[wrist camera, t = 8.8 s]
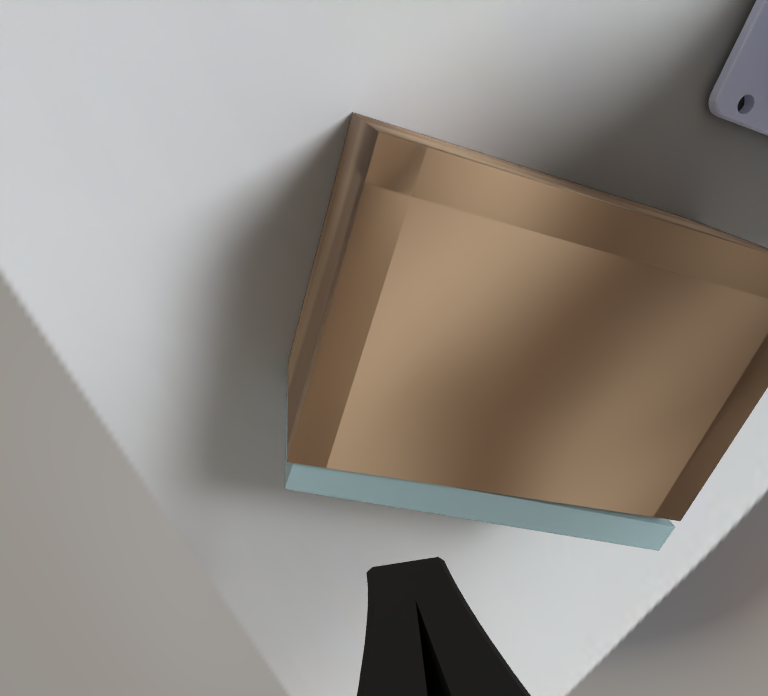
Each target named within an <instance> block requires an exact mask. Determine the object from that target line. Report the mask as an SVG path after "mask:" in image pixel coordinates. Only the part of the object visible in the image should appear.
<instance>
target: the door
mask: <svg viewBox="0 0 768 696" xmlns="http://www.w3.org/2000/svg"><path fill="white" fill-rule="evenodd" d="M287 419H288V391H287V394H286V447H285V489H287V490H293V491H299V492H305V493H311V494H317V495H323V496H330V497H336V498H342V499H348V500H354V501H360V502H366V503H372V504H378V505H384V506H390V507H396V508H402V509H408V510H415V511H421V512H427V513H433V514H439V515H445V516H451V517H457V518H463V519H469V520H475V521H481V522H487V523H493V524H500V525H506V526H512V527H518V528H524V529H530V530H536V531H542V532H548V533H554V534H560V535H566V536H572V537H578V538H585V539H591V540H597V541H603V542H609V543H615V544H621V545H627V546H633V547H639V548H645V549H651V550H657V551H659V550H660V548H661V547H662V545H663V544H664V543H665V541H666V540H667V538H668V537H669V535H670V534H671V532H672V531H673V530H674V528H675V526H674V525H673V524H672V523H671V521H670V520H669V519H663V518H656V517H650V516H643V515H636V514H630V513H623V512H617V511H610V510H603V509H597V508H590V507H583V506H577V505H570V504H563V503H557V502H550V501H543V500H537V499H530V498H523V497H517V496H510V495H503V494H497V493H490V492H483V491H477V490H470V489H463V488H457V487H450V486H443V485H437V484H430V483H423V482H417V481H410V480H403V479H397V478H390V477H383V476H377V475H370V474H363V473H357V472H350V471H343V470H337V469H330V468H323V467H317V466H310V465H304V464H297V463H290V462H287Z"/></svg>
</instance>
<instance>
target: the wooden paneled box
mask: <svg viewBox="0 0 768 696" xmlns="http://www.w3.org/2000/svg"><path fill="white" fill-rule="evenodd" d="M767 387H768V248H765V247H762V246H760V245H757V244H754V243H752V242H749V241H747V240H744V239H741V238H739V237H736V236H733V235H731V234H728V233H726V232H723V231H720V230H718V229H715V228H712V227H710V226H707V225H705V224H702V223H699V222H696V221H693V220H690V219H687V218H684V217H680V216H677V215H674V214H671V213H668V212H665V211H661V210H658V209H655V208H652V207H649V206H646V205H643V204H639V203H636V202H633V201H630V200H627V199H624V198H621V197H617V196H614V195H611V194H608V193H605V192H602V191H599V190H595V189H592V188H589V187H586V186H583V185H580V184H577V183H573V182H570V181H567V180H564V179H561V178H558V177H555V176H551V175H548V174H545V173H542V172H539V171H536V170H533V169H529V168H526V167H523V166H520V165H517V164H514V163H511V162H507V161H504V160H501V159H498V158H495V157H492V156H489V155H485V154H482V153H479V152H476V151H473V150H470V149H467V148H463V147H460V146H457V145H454V144H451V143H448V142H445V141H441V140H438V139H435V138H432V137H429V136H426V135H423V134H419V133H416V132H413V131H410V130H407V129H404V128H401V127H397V126H394V125H391V124H388V123H385V122H382V121H379V120H375V119H372V118H369V117H366V116H363V115H360V114H357V113H353V112H352V116H351V120H350V124H349V127H348V131H347V135H346V139H345V143H344V147H343V151H342V155H341V159H340V162H339V166H338V170H337V174H336V178H335V182H334V186H333V190H332V194H331V197H330V201H329V205H328V209H327V213H326V217H325V221H324V225H323V228H322V232H321V236H320V240H319V244H318V248H317V252H316V256H315V260H314V263H313V267H312V271H311V275H310V279H309V283H308V287H307V291H306V295H305V298H304V302H303V306H302V310H301V314H300V318H299V322H298V326H297V330H296V333H295V337H294V341H293V345H292V349H291V353H290V357H289V361H288V419H287V462H290V463H297V464H304V465H310V466H317V467H323V468H330V469H337V470H343V471H350V472H357V473H363V474H370V475H377V476H383V477H390V478H397V479H403V480H410V481H417V482H423V483H430V484H437V485H443V486H450V487H457V488H463V489H470V490H477V491H483V492H490V493H497V494H503V495H510V496H517V497H523V498H530V499H537V500H543V501H550V502H557V503H563V504H570V505H577V506H583V507H590V508H597V509H603V510H610V511H617V512H623V513H630V514H636V515H643V516H650V517H656V518H663V519H670V520H676V521H681V519H682V518H683V516H684V515H685V513H686V512H687V510H688V509H689V507H690V506H691V504H692V503H693V501H694V500H695V498H696V496H697V495H698V493H699V492H700V490H701V489H702V487H703V486H704V484H705V483H706V481H707V480H708V478H709V476H710V475H711V473H712V472H713V470H714V469H715V467H716V466H717V464H718V463H719V461H720V460H721V458H722V457H723V455H724V453H725V452H726V450H727V449H728V447H729V446H730V444H731V443H732V441H733V440H734V438H735V437H736V435H737V434H738V432H739V430H740V429H741V427H742V426H743V424H744V423H745V421H746V420H747V418H748V417H749V415H750V414H751V412H752V410H753V409H754V407H755V406H756V404H757V403H758V401H759V400H760V398H761V397H762V395H763V394H764V392H765V391H766V389H767Z"/></svg>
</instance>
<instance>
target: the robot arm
mask: <svg viewBox="0 0 768 696" xmlns="http://www.w3.org/2000/svg"><path fill="white" fill-rule="evenodd" d="M743 96H744V99H745V103H744V107H743V108H742V109H741V110H740V111H739V112H738V108H737V106H738V102H739V101H740V99H741V98H742V97H743ZM709 109H710V111H711V113H712V114H714V115H715V116H717V117H720V118H722V119H725V120H728V121H730V122H733V123H735V124H738V125H741V126H743V127H746V128H749V129H751V130H754V131H756V132H759V133H762V134H764V135H767V136H768V0H756V2H755V4H754V6H753V8H752V10H751V12H750V14H749V16H748V18H747V20H746V23H745V25H744V27H743V29H742V31H741V33H740V35H739V37H738V39H737V41H736V43H735V45H734V47H733V49H732V51H731V53H730V55H729V57H728V59H727V61H726V63H725V65H724V68H723V70H722V72H721V74H720V76H719V78H718V80H717V82H716V84H715V86H714V88H713V90H712V92H711V95H710V98H709ZM367 582H368V613H367V626H366V637H365V646H364V653H363V660H362V666H361V673H360V680H359V687H358V693H357V696H531V695H530V694H529V693H528V691H527V690H526V689H525V687H524V686H523V685H522V683H521V682H520V681H519V679H518V678H517V677H516V675H515V674H514V673H513V671H512V670H511V668H510V667H509V665H508V664H507V663H506V661H505V660H504V658H503V657H502V655H501V654H500V653H499V651H498V650H497V648H496V647H495V645H494V644H493V643H492V641H491V640H490V638H489V637H488V635H487V634H486V632H485V631H484V629H483V628H482V626H481V625H480V623H479V622H478V620H477V618H476V617H475V615H474V613H473V612H472V610H471V609H470V607H469V605H468V604H467V602H466V601H465V599H464V597H463V595H462V594H461V592H460V590H459V588H458V587H457V585H456V583H455V581H454V579H453V578H452V576H451V574H450V572H449V570H448V568H447V566H446V564H445V561H444V560H442V559H441V558H439V557H435V558H428V559H422V560H416V561H409V562H403V563H396V564H390V565H383V566H377V567H372V568H371V569H370V570H369V571H368V572H367Z"/></svg>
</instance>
